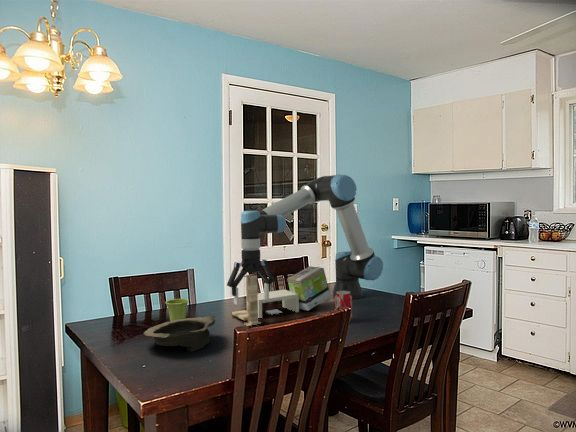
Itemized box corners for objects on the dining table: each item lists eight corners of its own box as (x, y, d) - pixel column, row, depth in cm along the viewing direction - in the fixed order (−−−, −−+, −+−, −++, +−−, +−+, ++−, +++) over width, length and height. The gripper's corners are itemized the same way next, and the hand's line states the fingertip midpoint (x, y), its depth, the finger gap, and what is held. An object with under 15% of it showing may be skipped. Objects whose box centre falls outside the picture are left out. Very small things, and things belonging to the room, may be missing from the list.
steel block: (276, 311, 200) (276, 309, 200) (282, 314, 195) (282, 311, 195) (265, 313, 197) (265, 310, 197) (271, 316, 193) (271, 313, 192)
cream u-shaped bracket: (285, 306, 207) (284, 289, 207) (299, 311, 197) (298, 294, 197) (246, 312, 197) (246, 295, 197) (259, 318, 187) (258, 300, 186)
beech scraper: (261, 324, 178) (260, 275, 178) (248, 327, 175) (246, 276, 175) (243, 315, 193) (242, 270, 192) (231, 317, 189) (230, 271, 189)
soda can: (351, 323, 177) (351, 294, 176) (334, 323, 178) (333, 293, 178) (352, 319, 184) (352, 290, 183) (335, 318, 185) (335, 290, 185)
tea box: (309, 311, 195) (300, 280, 192) (294, 308, 202) (285, 278, 200) (331, 296, 204) (323, 266, 201) (316, 293, 212) (308, 265, 209)
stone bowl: (223, 351, 147) (220, 324, 147) (144, 366, 140) (141, 338, 140) (213, 329, 171) (211, 306, 170) (146, 341, 164) (143, 317, 163)
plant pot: (161, 323, 182) (160, 303, 182) (174, 317, 191) (174, 298, 191) (180, 325, 179) (180, 304, 179) (193, 319, 188) (192, 299, 188)
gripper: (273, 246, 187) (274, 296, 188) (218, 250, 174) (219, 304, 175) (282, 247, 181) (283, 299, 181) (225, 252, 168) (226, 307, 168)
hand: (251, 301), depth 178 cm, fingers open, 13 cm apart
